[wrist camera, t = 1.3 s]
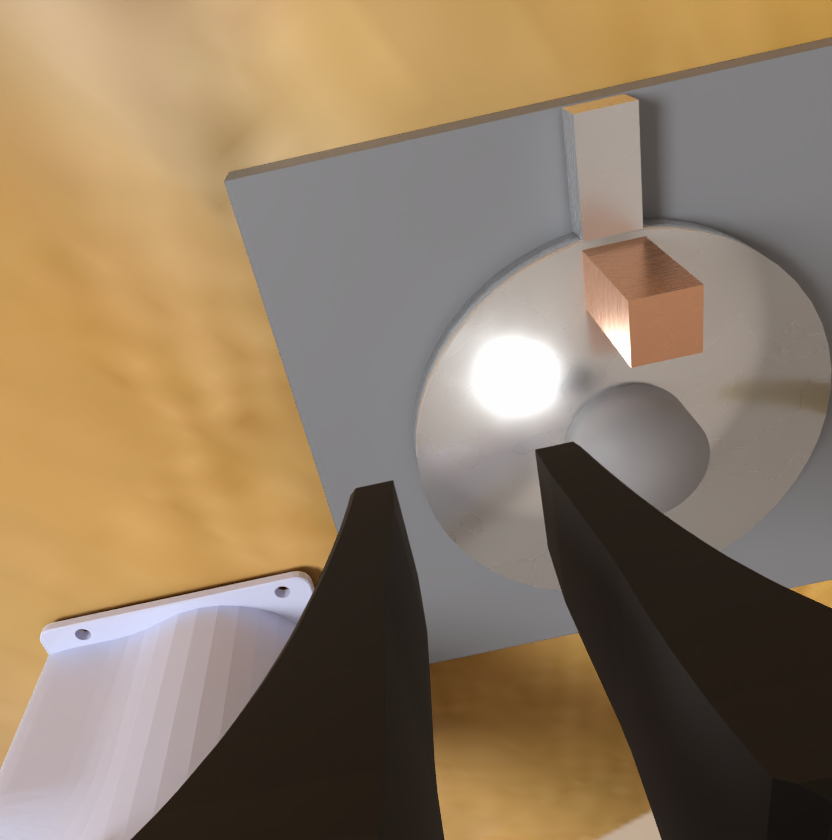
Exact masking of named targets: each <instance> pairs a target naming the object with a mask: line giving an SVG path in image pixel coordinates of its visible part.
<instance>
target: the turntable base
mask: <svg viewBox="0 0 832 840" xmlns="http://www.w3.org/2000/svg"><path fill="white" fill-rule="evenodd" d="M621 94H625V95H628V96H631V97H633V98H636V99H638V100H639V125H640V154H641V183H642V212H643V219H668V220H677V221H685V222H691V223H695V224H698V225H702V226H706V227H710V228H713V229H716V230H718V231H721V232H723V233H725V234H728V235H730V236H732V237H734V238H737V239H739V240H740V241H742V242H743V243H745V244H747V245H748V246H750V247H751V248H753V249H754V250H756V251H757V252H759V253H761V254H762V255H764V256H765V257H767V258H768V259H770V260H771V261H773V262H774V263H776V264H777V265H779V266H780V267H781V268H782V269H783V270H784V271H785V272H786V273H787V274H788V275H790V276H791V277H792V278H793V279H794V280H795V281H796V282H797V283H798V285H799V286H800V287H801V289H802V290H803V291H804V293H805V294H806V295H807V297H808V298H809V299H810V301H811V302H812V304H813V306H814V308H815V310H816V312H817V314H818V316H819V318H820V320H821V322H822V325H823V328H824V332H825V335H826V338H827V342H828V345H829V353H830V361H831V391H830V397H829V403H828V408H827V414H826V417H825V420H824V423H823V426H822V430H821V433H820V436H819V439H818V441H817V443H816V445H815V447H814V449H813V451H812V453H811V455H810V458H809V460H808V461H807V463H806V465H805V466H804V468H803V469H802V471H801V473H800V474H799V476H798V477H797V479H796V481H795V482H794V483H793V485H792V486H791V487H790V488H789V490H788V491H787V492H786V494H785V495H784V496H783V497H782V499H781V500H780V501H779V502H778V503H777V504H776V505H775V506H774V507H773V508H772V509H771V510H770V512H769V513H768V514H767V515H766V516H765V517H764V518H763V519H762V520H760V521H759V522H758V523H757V524H756V525H755V526H753V527H752V528H751V529H750V530H749V531H748V532H746V533H745V534H744V535H743V536H741V537H740V538H739V539H737V540H736V541H734V542H733V543H732V544H730V545H729V546H727V547H726V548H724V549H723V550H721V551H720V552H721V553H723V554H725V555H726V556H728V557H730V558H731V559H733V560H735V561H737V562H739V563H741V564H742V565H744V566H746V567H748V568H750V569H752V570H753V571H755V572H757V573H759V574H761V575H763V576H764V577H766V578H768V579H770V580H772V581H774V582H776V583H778V584H780V585H782V586H784V587H786V588H788V589H789V588H794V587H798V586H803V585H808V584H813V583H817V582H822V581H827V580H832V37H831V38H827V39H822V40H818V41H813V42H809V43H805V44H800V45H796V46H791V47H787V48H782V49H778V50H773V51H769V52H764V53H760V54H755V55H751V56H746V57H742V58H738V59H733V60H729V61H724V62H720V63H715V64H711V65H706V66H702V67H697V68H693V69H688V70H684V71H679V72H675V73H671V74H666V75H662V76H657V77H653V78H648V79H644V80H639V81H635V82H630V83H626V84H621V85H617V86H612V87H608V88H603V89H599V90H595V91H590V92H586V93H581V94H577V95H572V96H568V97H563V98H559V99H554V100H550V101H545V102H541V103H536V104H532V105H528V106H523V107H519V108H514V109H510V110H505V111H501V112H496V113H492V114H487V115H483V116H478V117H474V118H469V119H465V120H461V121H456V122H452V123H447V124H443V125H438V126H434V127H429V128H425V129H420V130H416V131H411V132H407V133H402V134H398V135H394V136H389V137H385V138H380V139H376V140H371V141H367V142H362V143H358V144H353V145H349V146H344V147H340V148H335V149H331V150H326V151H322V152H318V153H313V154H309V155H304V156H300V157H295V158H291V159H286V160H282V161H277V162H273V163H268V164H264V165H259V166H255V167H251V168H246V169H242V170H237V171H233V172H229V173H228V175H227V177H226V179H225V181H224V183H225V186H226V189H227V192H228V195H229V198H230V202H231V205H232V208H233V211H234V214H235V217H236V220H237V223H238V226H239V229H240V232H241V236H242V239H243V242H244V245H245V248H246V251H247V254H248V257H249V260H250V263H251V267H252V270H253V273H254V276H255V279H256V282H257V285H258V288H259V291H260V294H261V297H262V301H263V304H264V307H265V310H266V313H267V316H268V319H269V322H270V325H271V328H272V331H273V335H274V338H275V341H276V344H277V347H278V350H279V353H280V356H281V359H282V362H283V365H284V369H285V372H286V375H287V378H288V381H289V384H290V387H291V390H292V393H293V396H294V400H295V403H296V406H297V409H298V412H299V415H300V418H301V421H302V424H303V427H304V430H305V434H306V437H307V440H308V443H309V446H310V449H311V452H312V455H313V458H314V461H315V464H316V468H317V471H318V474H319V477H320V480H321V483H322V486H323V489H324V492H325V495H326V498H327V502H328V505H329V508H330V511H331V514H332V517H333V520H334V523H335V526H336V529H337V533H338V532H339V530H340V527H341V524H342V521H343V518H344V515H345V512H346V509H347V506H348V502H349V498H350V495H351V494H352V492H353V491H354V490H355V488H359V487H363V486H368V485H373V484H377V483H382V482H387V481H391V480H393V481H394V485H395V489H396V493H397V497H398V500H399V504H400V508H401V512H402V516H403V520H404V523H405V527H406V531H407V535H408V539H409V543H410V547H411V550H412V554H413V558H414V562H415V566H416V570H417V574H418V578H419V584H420V590H421V596H422V602H423V608H424V614H425V620H426V626H427V634H428V651H429V664H432V663H437V662H442V661H446V660H451V659H456V658H461V657H466V656H470V655H475V654H480V653H485V652H489V651H494V650H499V649H504V648H508V647H513V646H518V645H523V644H527V643H532V642H537V641H542V640H546V639H551V638H556V637H561V636H565V635H570V634H575V633H579V632H578V630H577V628H576V625H575V623H574V621H573V619H572V616H571V614H570V612H569V610H568V607H567V605H566V603H565V600H564V597H563V594H562V591H558V590H551V589H544V588H539V587H535V586H531V585H527V584H524V583H520V582H517V581H515V580H512V579H510V578H507V577H504V576H502V575H499V574H498V573H496V572H494V571H492V570H490V569H489V568H487V567H485V566H483V565H481V564H480V563H478V562H477V561H476V560H474V559H473V558H472V557H470V556H469V555H468V554H466V553H465V552H464V551H463V550H462V549H461V548H460V547H459V546H458V545H457V544H456V543H455V542H454V541H453V540H452V539H451V538H450V537H449V536H448V535H447V533H446V532H445V530H444V529H443V528H442V526H441V525H440V524H439V522H438V521H437V519H436V517H435V515H434V513H433V511H432V510H431V508H430V506H429V504H428V502H427V499H426V496H425V493H424V490H423V487H422V484H421V480H420V475H419V469H418V463H417V457H416V450H415V444H414V412H415V406H416V399H417V393H418V389H419V386H420V383H421V379H422V376H423V373H424V370H425V367H426V365H427V363H428V361H429V358H430V356H431V354H432V352H433V350H434V348H435V345H436V344H437V342H438V340H439V339H440V337H441V336H442V334H443V332H444V331H445V329H446V328H447V326H448V325H449V323H450V321H451V320H452V319H453V318H454V316H455V315H456V314H457V313H458V312H459V310H460V309H461V308H462V307H463V306H464V304H465V303H466V302H467V301H468V300H469V298H470V297H471V296H473V295H474V294H475V293H476V292H477V291H478V290H479V289H480V288H481V287H482V286H483V285H484V284H485V283H486V282H487V281H488V280H489V279H490V278H492V277H493V276H494V275H496V274H497V273H498V272H500V271H501V270H503V269H504V268H505V267H507V266H508V265H509V264H511V263H512V262H513V261H515V260H516V259H518V258H520V257H521V256H523V255H525V254H527V253H528V252H530V251H532V250H534V249H535V248H537V247H539V246H541V245H542V244H545V243H547V242H549V241H552V240H554V239H557V238H559V237H561V236H564V235H566V234H568V233H571V232H573V231H572V223H571V212H570V200H569V188H568V177H567V165H566V153H565V141H564V130H563V118H562V108H563V107H567V106H572V105H576V104H581V103H585V102H590V101H594V100H599V99H603V98H607V97H612V96H616V95H621ZM568 442H575V443H576V444H578V445H579V446H581V447H582V448H583V449H584V450H585V451H586V452H587V453H589V454H590V455H591V456H592V457H593V458H594V459H595V460H597V461H598V462H599V463H600V464H601V465H602V466H603V467H605V468H606V469H607V470H608V471H609V472H610V473H612V474H613V475H614V476H615V477H617V478H618V479H619V480H620V481H621V482H623V483H624V484H625V485H626V486H628V487H629V488H630V489H631V490H633V491H634V492H635V493H636V494H638V495H639V496H640V497H642V498H643V499H644V500H646V501H647V502H648V503H650V504H651V505H652V506H654V507H655V508H656V509H658V510H659V511H660V512H662V513H665V512H667V511H669V510H671V509H673V508H675V507H676V506H678V505H679V504H681V503H682V502H683V501H685V500H686V499H687V498H688V497H689V496H690V495H691V494H692V493H693V492H694V491H695V490H696V488H697V487H698V486H699V484H700V483H701V481H702V479H703V477H704V476H705V473H706V471H707V468H708V464H709V460H710V446H709V442H708V439H707V436H706V434H705V432H704V431H703V429H702V428H701V426H700V425H699V424H698V423H697V422H696V420H695V419H694V418H693V417H692V415H691V414H690V413H689V412H688V411H687V409H686V408H685V407H684V406H683V404H682V403H681V402H680V401H679V400H678V399H677V398H676V397H675V396H674V395H673V394H671V393H670V392H668V391H666V390H664V389H662V388H659V387H657V386H652V385H645V384H632V385H626V386H621V387H618V388H615V389H612V390H609V391H607V392H605V393H603V394H601V395H599V396H598V397H596V398H595V399H593V400H592V401H591V402H589V403H588V404H587V405H586V406H585V407H584V408H583V409H582V410H581V411H580V412H579V413H578V415H577V416H576V417H575V419H574V420H573V422H572V424H571V425H570V428H569V430H568V432H567V436H566V440H565V443H568Z"/></svg>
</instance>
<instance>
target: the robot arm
mask: <svg viewBox="0 0 832 840" xmlns="http://www.w3.org/2000/svg"><path fill="white" fill-rule="evenodd" d="M535 455H536V462H537V470H538V477H539V485H540V492H541V500H542V507H543V515H544V522H545V530H546V537H547V545H548V550H549V553H550V556H551V559H552V563H553V566H554V569H555V572H556V575H557V578H558V582H559V585H560V588H561V591H562V594H563V597H564V600H565V603H566V605H567V607H568V610H569V612H570V614H571V616H572V619H573V621H574V623H575V625H576V628H577V630H578V632H579V634H580V636H581V639H582V641H583V643H584V645H585V648H586V650H587V652H588V654H589V656H590V658H591V661H592V663H593V665H594V667H595V669H596V672H597V674H598V676H599V678H600V680H601V683H602V685H603V687H604V689H605V691H606V694H607V696H608V698H609V700H610V702H611V705H612V707H613V709H614V711H615V713H616V716H617V718H618V720H619V722H620V724H621V727H622V729H623V732H624V734H625V737H626V739H627V742H628V744H629V747H630V749H631V751H632V754H633V757H634V760H635V763H636V766H637V769H638V772H639V774H640V777H641V780H642V783H643V786H644V789H645V792H646V795H647V798H648V801H649V804H650V806H651V809H652V812H653V815H654V818H655V821H656V824H657V827H658V830H659V833H660V836H661V839H662V840H832V608H830V607H828V606H825V605H823V604H821V603H819V602H816V601H814V600H812V599H810V598H808V597H805V596H803V595H801V594H799V593H797V592H794V591H792V590H790V589H788V588H786V587H784V586H782V585H780V584H778V583H776V582H774V581H772V580H770V579H768V578H766V577H764V576H763V575H761V574H759V573H757V572H755V571H753V570H752V569H750V568H748V567H746V566H744V565H742V564H741V563H739V562H737V561H735V560H733V559H731V558H730V557H728V556H726V555H725V554H723V553H721V552H720V551H718V550H717V549H715V548H713V547H712V546H710V545H709V544H707V543H705V542H704V541H702V540H701V539H699V538H698V537H696V536H695V535H693V534H692V533H690V532H689V531H687V530H686V529H684V528H683V527H681V526H680V525H678V524H677V523H676V522H674V521H673V520H671V519H670V518H669V517H667V516H666V515H664V514H663V513H662V512H660V511H659V510H658V509H656V508H655V507H654V506H652V505H651V504H650V503H648V502H647V501H646V500H644V499H643V498H642V497H640V496H639V495H638V494H636V493H635V492H634V491H633V490H631V489H630V488H629V487H628V486H626V485H625V484H624V483H623V482H621V481H620V480H619V479H618V478H617V477H615V476H614V475H613V474H612V473H610V472H609V471H608V470H607V469H606V468H605V467H603V466H602V465H601V464H600V463H599V462H598V461H597V460H595V459H594V458H593V457H592V456H591V455H590V454H589V453H587V452H586V451H585V450H584V449H583V448H582V447H581V446H579V445H578V444H576V443H575V442H568V443H563V444H559V445H554V446H549V447H545V448H540V449H535ZM280 586H285V587H287V588H288V589H286V590H281V589H278V587H280ZM81 629H85V630H88V631H83V630H81ZM39 639H40V641H41V643H42V645H43V646H44V648H45V650H46V651H47V653H48V654H49V656H48V658H47V661H46V663H45V665H44V668H43V670H42V672H41V675H40V677H39V680H38V682H37V684H36V687H35V689H34V691H33V694H32V696H31V699H30V701H29V703H28V706H27V708H26V710H25V713H24V715H23V717H22V720H21V722H20V725H19V727H18V729H17V732H16V734H15V736H14V739H13V741H12V743H11V746H10V748H9V751H8V753H7V755H6V758H5V760H4V762H3V765H2V767H1V770H0V840H444V834H443V827H442V821H441V814H440V807H439V800H438V793H437V783H436V773H435V762H434V743H433V725H432V706H431V687H430V669H429V651H428V634H427V626H426V620H425V614H424V608H423V602H422V596H421V590H420V584H419V578H418V574H417V570H416V566H415V562H414V558H413V554H412V550H411V547H410V543H409V539H408V535H407V531H406V527H405V523H404V520H403V516H402V512H401V508H400V504H399V500H398V497H397V493H396V489H395V485H394V481H393V480H391V481H387V482H382V483H377V484H373V485H368V486H363V487H359V488H355V490H354V491H353V492H352V494H351V495H350V498H349V502H348V506H347V509H346V512H345V515H344V518H343V521H342V524H341V527H340V530H339V532H338V535H337V538H336V540H335V543H334V546H333V548H332V550H331V553H330V555H329V557H328V560H327V562H326V564H325V567H324V569H323V571H322V574H321V576H320V578H319V581H318V583H317V585H316V587H314V585H313V582H312V579H311V578H310V576H309V575H308V574H306V573H305V572H301V571H293V572H288V573H283V574H278V575H274V576H269V577H264V578H260V579H255V580H250V581H246V582H241V583H236V584H232V585H227V586H222V587H218V588H213V589H208V590H203V591H199V592H194V593H189V594H185V595H180V596H175V597H171V598H166V599H161V600H157V601H152V602H147V603H143V604H138V605H133V606H128V607H124V608H119V609H114V610H110V611H105V612H100V613H96V614H91V615H86V616H82V617H77V618H72V619H68V620H63V621H58V622H53V623H50V624H47V625H46V626H45V627H44V628H43V630H42V632H41V634H40V638H39Z"/></svg>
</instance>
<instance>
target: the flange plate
mask: <svg viewBox="0 0 832 840" xmlns="http://www.w3.org/2000/svg"><path fill="white" fill-rule="evenodd" d="M562 118H563V130H564V141H565V153H566V165H567V177H568V188H569V200H570V212H571V223H572V231H573V232H571V233H568V234H566V235H564V236H561V237H559V238H557V239H554V240H552V241H549V242H547V243H545V244H542V245H541V246H539V247H537V248H535V249H534V250H532V251H530V252H528V253H527V254H525V255H523V256H521V257H520V258H518V259H516V260H515V261H513V262H512V263H511V264H509V265H508V266H507V267H505V268H504V269H503V270H501V271H500V272H498V273H497V274H496V275H494V276H493V277H492V278H490V279H489V280H488V281H487V282H486V283H485V284H484V285H483V286H482V287H481V288H480V289H479V290H478V291H477V292H476V293H475V294H474V295H473V296H471V297H470V298H469V300H468V301H467V302H466V303H465V304H464V306H463V307H462V308H461V309H460V310H459V312H458V313H457V314H456V315H455V316H454V318H453V319H452V320H451V321H450V323H449V325H448V326H447V328H446V329H445V331H444V332H443V334H442V336H441V337H440V339H439V340H438V342H437V344H436V345H435V348H434V350H433V352H432V354H431V356H430V358H429V361H428V363H427V365H426V367H425V370H424V373H423V376H422V379H421V383H420V386H419V389H418V393H417V399H416V406H415V412H414V444H415V450H416V457H417V463H418V469H419V475H420V480H421V484H422V487H423V490H424V493H425V496H426V499H427V502H428V504H429V506H430V508H431V510H432V511H433V513H434V515H435V517H436V519H437V521H438V522H439V524H440V525H441V526H442V528H443V529H444V530H445V532H446V533H447V535H448V536H449V537H450V538H451V539H452V540H453V541H454V542H455V543H456V544H457V545H458V546H459V547H460V548H461V549H462V550H463V551H464V552H465V553H466V554H468V555H469V556H470V557H472V558H473V559H474V560H476V561H477V562H478V563H480V564H481V565H483V566H485V567H487V568H489V569H490V570H492V571H494V572H496V573H498V574H499V575H502V576H504V577H507V578H510V579H512V580H515V581H517V582H520V583H524V584H527V585H531V586H535V587H539V588H544V589H551V590H558V591H561V588H560V585H559V582H558V578H557V575H556V572H555V569H554V566H553V563H552V559H551V556H550V553H549V550H548V545H547V537H546V530H545V522H544V515H543V507H542V500H541V492H540V485H539V477H538V470H537V462H536V455H535V449H540V448H545V447H549V446H554V445H559V444H563V443H565V440H566V436H567V432H568V430H569V428H570V425H571V424H572V422H573V420H574V419H575V417H576V416H577V415H578V413H579V412H580V411H581V410H582V409H583V408H584V407H585V406H586V405H587V404H588V403H589V402H591V401H592V400H593V399H595V398H596V397H598V396H599V395H601V394H603V393H605V392H607V391H609V390H612V389H615V388H618V387H621V386H626V385H632V384H645V385H652V386H657V387H659V388H662V389H664V390H666V391H668V392H670V393H671V394H673V395H674V396H675V397H676V398H677V399H678V400H679V401H680V402H681V403H682V404H683V406H684V407H685V408H686V409H687V411H688V412H689V413H690V414H691V415H692V417H693V418H694V419H695V420H696V422H697V423H698V424H699V425H700V426H701V428H702V429H703V431H704V432H705V434H706V436H707V439H708V442H709V446H710V460H709V464H708V468H707V471H706V473H705V476H704V477H703V479H702V481H701V483H700V484H699V486H698V487H697V488H696V490H695V491H694V492H693V493H692V494H691V495H690V496H689V497H688V498H687V499H686V500H685V501H683V502H682V503H681V504H679V505H678V506H676V507H675V508H673V509H671V510H669V511H667V512H665V513H663V514H664V515H666V516H667V517H669V518H670V519H671V520H673V521H674V522H676V523H677V524H678V525H680V526H681V527H683V528H684V529H686V530H687V531H689V532H690V533H692V534H693V535H695V536H696V537H698V538H699V539H701V540H702V541H704V542H705V543H707V544H709V545H710V546H712V547H713V548H715V549H717V550H718V551H721V550H723V549H724V548H726V547H727V546H729V545H730V544H732V543H733V542H734V541H736V540H737V539H739V538H740V537H741V536H743V535H744V534H745V533H746V532H748V531H749V530H750V529H751V528H752V527H753V526H755V525H756V524H757V523H758V522H759V521H760V520H762V519H763V518H764V517H765V516H766V515H767V514H768V513H769V512H770V510H771V509H772V508H773V507H774V506H775V505H776V504H777V503H778V502H779V501H780V500H781V499H782V497H783V496H784V495H785V494H786V492H787V491H788V490H789V488H790V487H791V486H792V485H793V483H794V482H795V481H796V479H797V477H798V476H799V474H800V473H801V471H802V469H803V468H804V466H805V465H806V463H807V461H808V460H809V458H810V455H811V453H812V451H813V449H814V447H815V445H816V443H817V441H818V439H819V436H820V433H821V430H822V426H823V423H824V420H825V417H826V414H827V408H828V403H829V397H830V391H831V361H830V353H829V345H828V342H827V338H826V335H825V332H824V328H823V325H822V322H821V320H820V318H819V316H818V314H817V312H816V310H815V308H814V306H813V304H812V302H811V301H810V299H809V298H808V297H807V295H806V294H805V293H804V291H803V290H802V289H801V287H800V286H799V285H798V283H797V282H796V281H795V280H794V279H793V278H792V277H791V276H790V275H788V274H787V273H786V272H785V271H784V270H783V269H782V268H781V267H780V266H779V265H777V264H776V263H774V262H773V261H771V260H770V259H768V258H767V257H765V256H764V255H762V254H761V253H759V252H757V251H756V250H754V249H753V248H751V247H750V246H748V245H747V244H745V243H743V242H742V241H740V240H739V239H737V238H734V237H732V236H730V235H728V234H725V233H723V232H721V231H718V230H716V229H713V228H710V227H706V226H702V225H698V224H695V223H691V222H685V221H677V220H668V219H643V212H642V183H641V154H640V125H639V100H638V99H636V98H633V97H631V96H628V95H625V94H621V95H616V96H612V97H607V98H603V99H599V100H594V101H590V102H585V103H581V104H576V105H572V106H567V107H563V108H562Z"/></svg>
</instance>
